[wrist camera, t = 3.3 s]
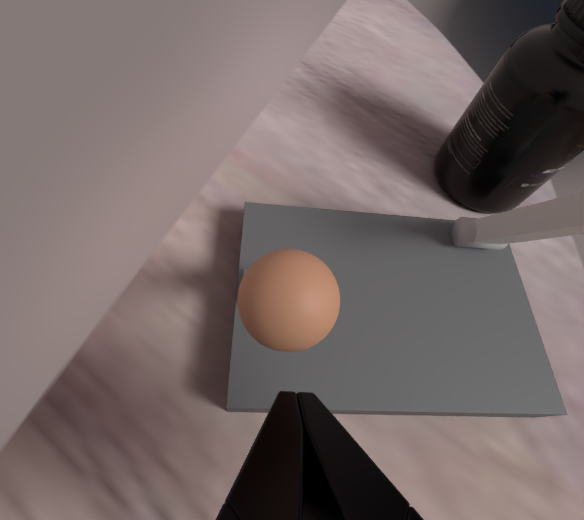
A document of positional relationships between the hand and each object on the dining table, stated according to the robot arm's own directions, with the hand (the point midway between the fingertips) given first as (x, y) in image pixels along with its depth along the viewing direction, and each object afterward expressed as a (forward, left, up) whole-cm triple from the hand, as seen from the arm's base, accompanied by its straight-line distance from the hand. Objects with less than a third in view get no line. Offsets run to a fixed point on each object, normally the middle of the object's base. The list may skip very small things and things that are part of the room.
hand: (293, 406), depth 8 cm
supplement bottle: (+16, -15, -9) cm, 24 cm away
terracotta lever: (+5, 0, -6) cm, 8 cm away
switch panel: (+6, -6, -9) cm, 12 cm away
